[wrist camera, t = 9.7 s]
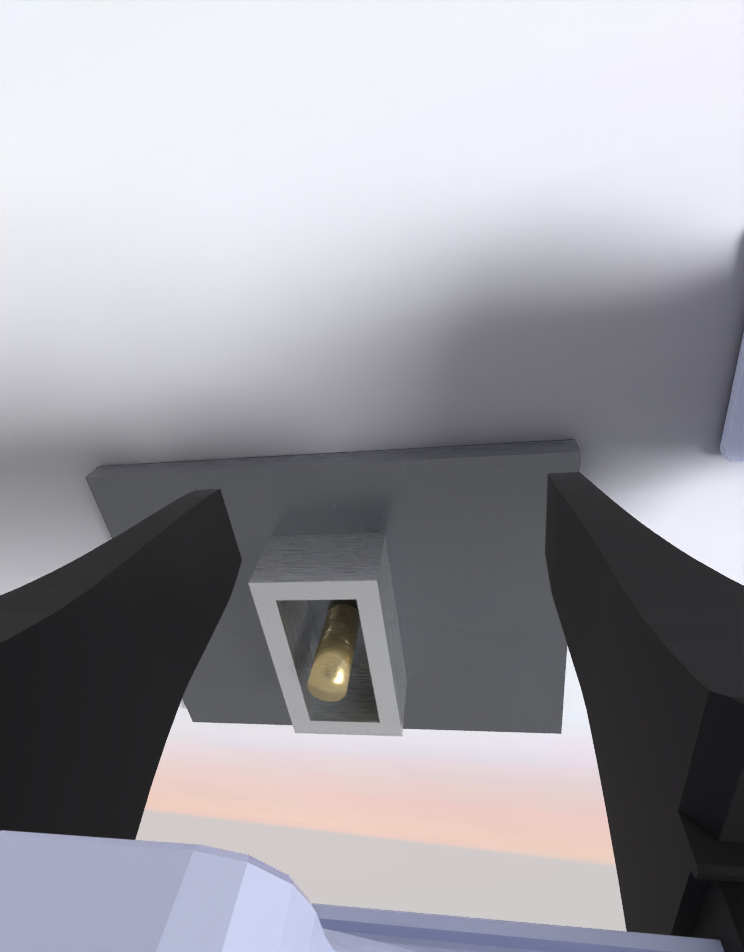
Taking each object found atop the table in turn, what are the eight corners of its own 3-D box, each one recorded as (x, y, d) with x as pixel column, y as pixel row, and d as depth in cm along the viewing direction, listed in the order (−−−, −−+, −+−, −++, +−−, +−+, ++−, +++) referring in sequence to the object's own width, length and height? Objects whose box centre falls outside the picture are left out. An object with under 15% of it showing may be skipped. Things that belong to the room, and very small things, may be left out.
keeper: (574, 439, 20) (607, 512, 16) (557, 716, 28) (577, 815, 24) (98, 466, 24) (21, 533, 20) (200, 706, 32) (160, 792, 27)
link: (270, 536, 23) (248, 582, 21) (385, 532, 22) (376, 580, 20) (309, 679, 28) (295, 733, 25) (406, 681, 27) (402, 736, 24)
